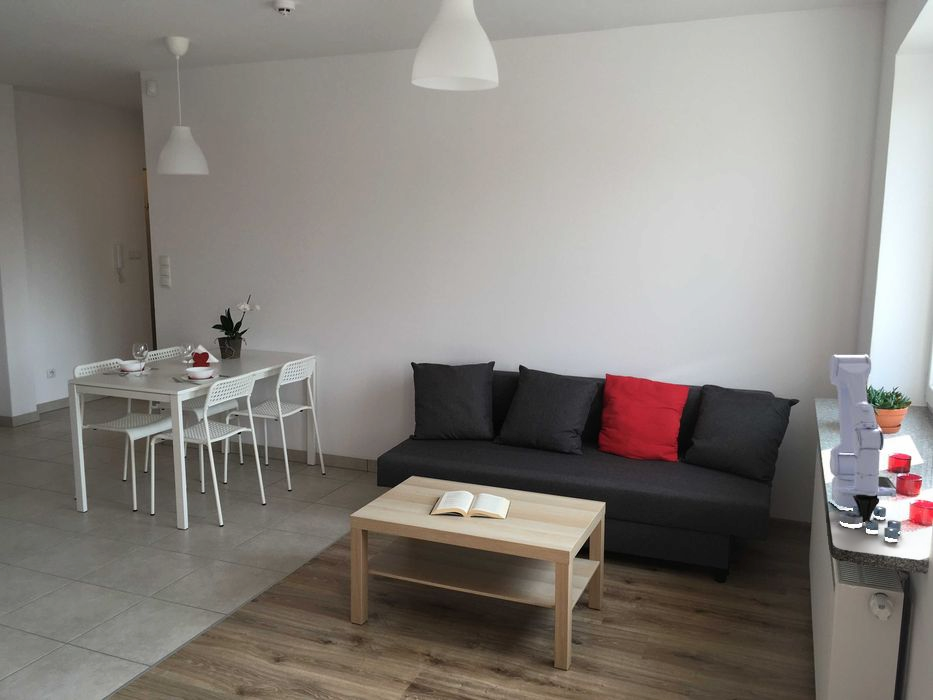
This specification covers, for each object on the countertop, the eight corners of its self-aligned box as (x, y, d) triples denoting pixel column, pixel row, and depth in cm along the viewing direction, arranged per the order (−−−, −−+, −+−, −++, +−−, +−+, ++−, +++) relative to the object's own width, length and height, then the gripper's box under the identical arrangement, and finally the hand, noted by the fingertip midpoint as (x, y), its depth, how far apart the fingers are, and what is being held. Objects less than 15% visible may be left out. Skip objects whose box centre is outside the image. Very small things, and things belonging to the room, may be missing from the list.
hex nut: (836, 521, 208) (837, 510, 207) (855, 521, 207) (856, 511, 207) (844, 529, 202) (845, 518, 202) (864, 529, 201) (864, 518, 201)
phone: (887, 476, 244) (897, 490, 230) (887, 480, 245) (897, 494, 230) (860, 475, 247) (868, 488, 233) (860, 478, 247) (868, 492, 233)
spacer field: (846, 516, 211) (847, 506, 211) (882, 516, 210) (883, 506, 210) (876, 542, 192) (877, 531, 192) (916, 543, 191) (917, 531, 191)
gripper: (843, 477, 199) (842, 526, 201) (902, 477, 198) (900, 527, 199) (833, 469, 206) (832, 517, 208) (890, 469, 205) (888, 518, 206)
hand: (864, 522), depth 204 cm, fingers closed
